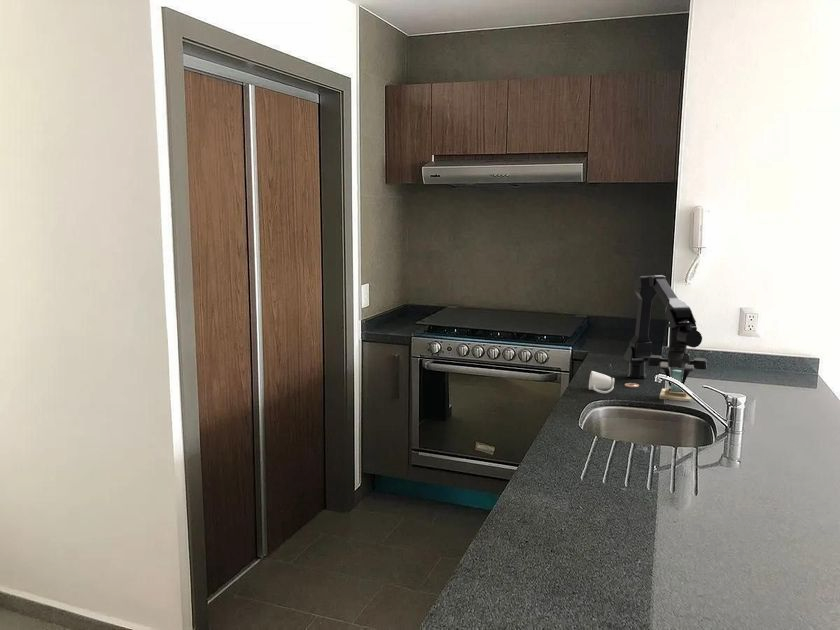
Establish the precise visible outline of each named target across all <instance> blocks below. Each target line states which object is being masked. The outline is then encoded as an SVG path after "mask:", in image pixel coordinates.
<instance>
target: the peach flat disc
mask: <svg viewBox="0 0 840 630" xmlns="http://www.w3.org/2000/svg"><path fill="white" fill-rule="evenodd" d="M639 386H640V384H638V383H635V382H628V383H624V387H627V388H639Z"/></svg>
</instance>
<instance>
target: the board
mask: <svg viewBox="0 0 840 630" xmlns="http://www.w3.org/2000/svg"><path fill="white" fill-rule="evenodd" d="M658 399H659V400H667V399H669V401H679V402H680V401H681V402H691V401H692V397H689V396H688V395H687V394H686V393H685V392H683V391H682V392H672V391H671V387H666V388H661V391H660V393H659V396H658Z"/></svg>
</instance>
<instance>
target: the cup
mask: <svg viewBox="0 0 840 630" xmlns="http://www.w3.org/2000/svg"><path fill="white" fill-rule="evenodd" d="M614 386H615V378H614V377H611V376H610V375H606V374H604V373H600V372H597V371H593V370H591V372H590V375H589V381H588V390H589V391H591V390H592V391H595V392H597V393H600V394H608V393H610V392H612V391H613V390H614V388H615V387H614Z"/></svg>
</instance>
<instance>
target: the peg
mask: <svg viewBox="0 0 840 630" xmlns="http://www.w3.org/2000/svg"><path fill="white" fill-rule="evenodd" d="M670 372H671V377H672V378H674V379H676V380H678V381H680V382H681V383H682V379H683V371H682V370H680V369H672V370H671V369H670ZM670 388H671V391H672V392H682V390H681V389H680V388H679V387H677V386H675V385H674V384H672V383H671V386H670Z"/></svg>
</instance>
